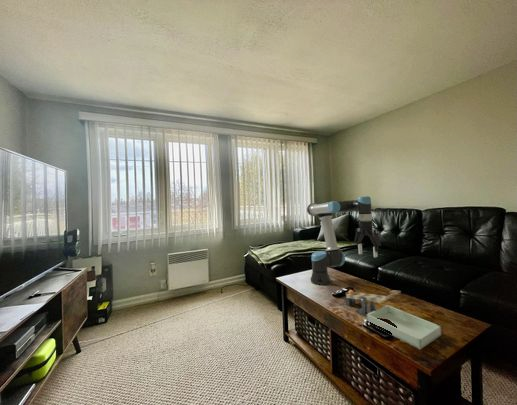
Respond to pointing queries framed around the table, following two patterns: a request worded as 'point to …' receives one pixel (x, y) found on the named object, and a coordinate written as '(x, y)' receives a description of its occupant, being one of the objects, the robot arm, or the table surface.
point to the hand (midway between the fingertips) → (367, 255)
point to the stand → (365, 308)
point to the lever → (372, 296)
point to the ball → (351, 292)
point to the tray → (406, 326)
